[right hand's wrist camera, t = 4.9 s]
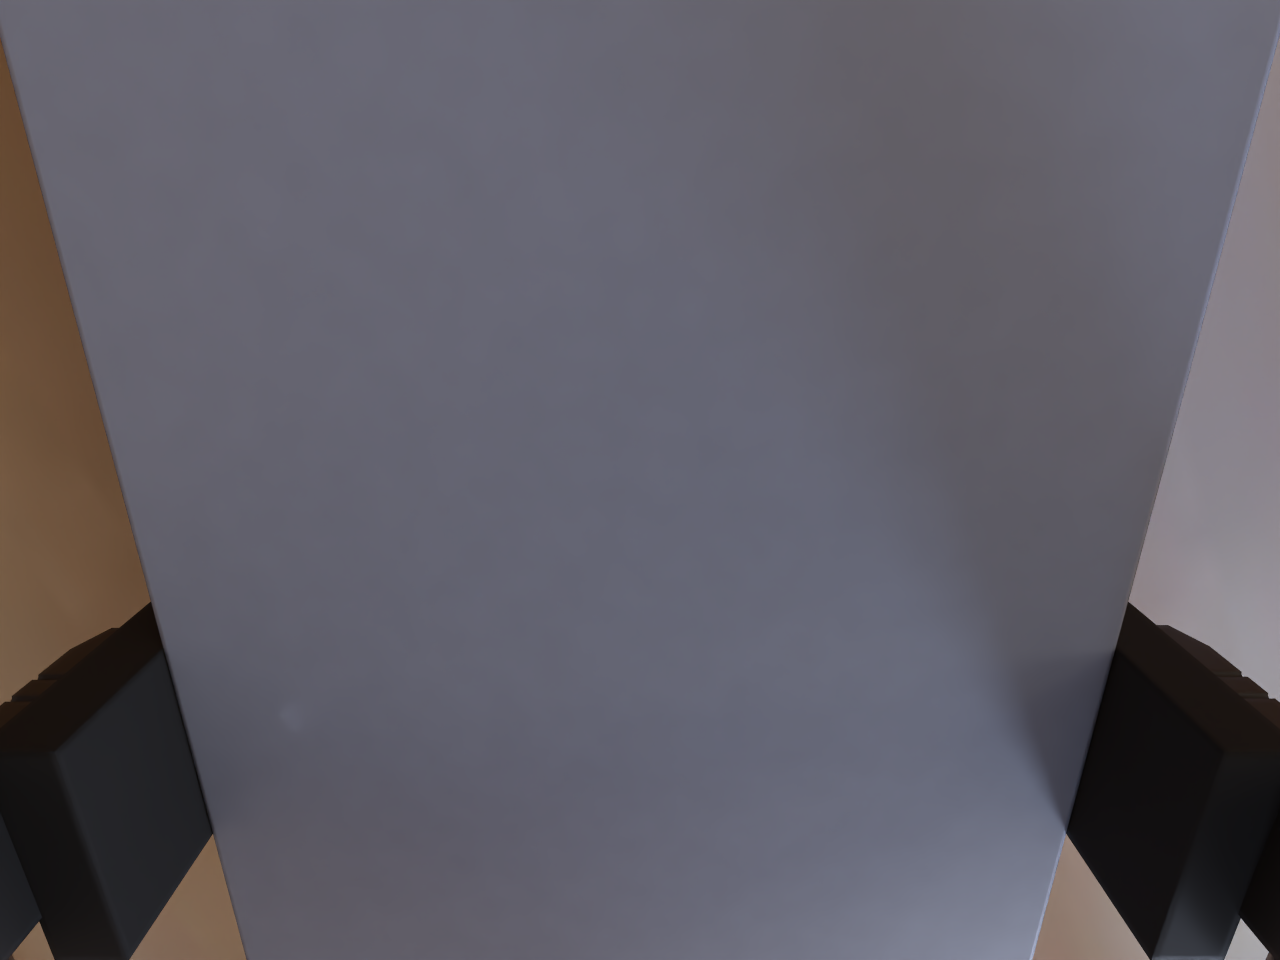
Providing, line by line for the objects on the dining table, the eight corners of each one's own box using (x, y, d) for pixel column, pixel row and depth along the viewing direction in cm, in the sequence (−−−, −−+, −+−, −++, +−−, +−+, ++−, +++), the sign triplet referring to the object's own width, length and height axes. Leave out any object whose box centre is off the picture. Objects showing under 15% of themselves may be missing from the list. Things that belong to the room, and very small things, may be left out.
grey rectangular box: (315, -403, 12) (-553, -1995, 3) (965, -403, 12) (1829, -1992, 3) (433, 631, 19) (255, 1007, 10) (846, 631, 19) (1022, 1007, 10)
